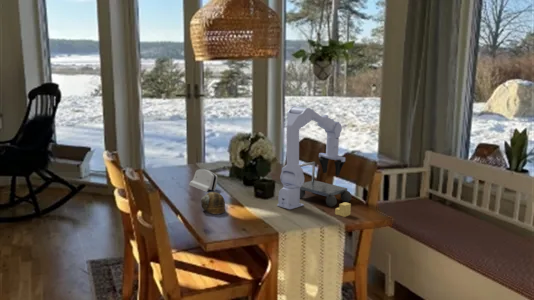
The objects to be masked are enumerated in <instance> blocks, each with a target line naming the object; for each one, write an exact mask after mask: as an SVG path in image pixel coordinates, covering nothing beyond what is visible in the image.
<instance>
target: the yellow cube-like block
mask: <svg viewBox="0 0 534 300" xmlns="http://www.w3.org/2000/svg"><path fill="white" fill-rule="evenodd" d="M351 207H352V204H351V203H349V202H344V201H343V202H342V203H339V205H338V207H336V208H335V211H334V214H335V215H336V216H341V217H342V218H346V217H348V216H351V211H352V210H351V209H352V208H351Z"/></svg>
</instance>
